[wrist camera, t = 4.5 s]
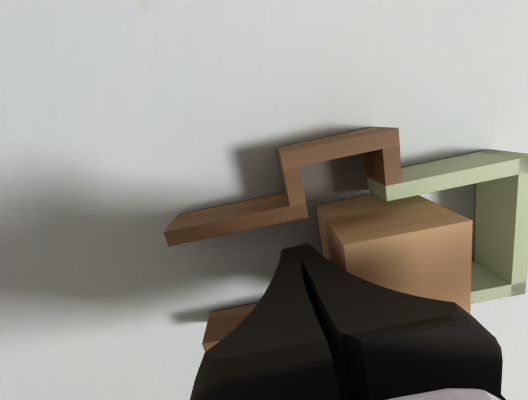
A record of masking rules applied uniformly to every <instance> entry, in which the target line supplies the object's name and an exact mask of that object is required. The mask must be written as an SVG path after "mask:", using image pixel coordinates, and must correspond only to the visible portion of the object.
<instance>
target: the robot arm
mask: <svg viewBox="0 0 528 400" xmlns="http://www.w3.org/2000/svg"><path fill="white" fill-rule="evenodd" d="M502 362H503V360H502V352H501V347H500V345H499V344H498V342H497V340H496V338H495V337H494V336H493V335H492V334H491V333H490V332H489V331H488V330H486V329H485V328H484V327H483V326H482V325H481V324H480V323H479V322H478V321H477V320H476V319H475V318H474V317H473V316H472V315H470V314H469V313H468V312H467V311H465V310H464V309H463V308H462V307H460V306H459V305H458V304H457V303H455V302H449V301H443V300H437V299H430V298H424V297H419V296H415V295H411V294H406V293H402V292H398V291H395V290H391V289H388V288H385V287H382V286H379V285H376V284H374V283H371V282H368V281H366V280H364V279H362V278H359V277H357V276H355V275H353V274H351V273H349V272H347V271H345V270H343V269H342V268H340V267H338V266H337V265H335V264H334V263H332V262H331V261H329V260H328V259H327V258H325V257H324V256H322V255H321V254H320V253H319V252H317V251H316V250H315V249H314V248H313V247H311V246H310V245H309V244H305V245H300V246H295V247H290V248H286V249H283V250H282V251H281V257H280V260H279V264H278V266H277V269H276V272H275V274H274V276H273V278H272V280H271V282H270V284H269V286H268V288H267V290H266V292H265V293H264V295H263V297H262V298H261V300H260V301H259V302H258V304H257V305H256V306H255V308H254V309H253V310H252V311H251V312H250V314H249V315H248V316H247V317H246V318H245V319H244V320H243V321H242V322H241V323H240V324H239V325H238V326H237V327H236V328H235V329H234V330H233V331H232V332H230V333H229V334H228V335H227V336H226V337H224V338H223V339H222V340H220V341H219V342H218V343H217V344H215V345H214V346H213V347H211V348H210V349H209V350H207V351H206V352H205V354H204V356H203V359H202V362H201V365H200V367H199V370H198V373H197V376H196V379H195V382H194V386H193V390H192V394H191V398H190V400H506V399H505V398H504V397H503V396H502V395H501V380H502Z"/></svg>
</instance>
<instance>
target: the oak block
mask: <svg viewBox="0 0 528 400" xmlns="http://www.w3.org/2000/svg"><path fill="white" fill-rule="evenodd" d="M316 210H317V216H318V223H319V229H320V236H321V243H322V249H323V256H324V257H325V258H327V259H328V260H329V261H331V262H332V263H334V264H335V265H337V266H338V267H340V268H342V269H343V270H345V271H347V272H349V273H351V274H353V275H355V276H357V277H359V278H362V279H364V280H366V281H368V282H371V283H374V284H376V285H379V286H382V287H385V288H388V289H391V290H395V291H398V292H402V293H406V294H411V295H415V296H419V297H424V298H430V299H437V300H443V301H449V302H455V303H457V304H458V305H459V306H460V307H462V308H463V309H464V310H465V311H467V312H468V313H469V314H470V299H471V263H472V226H473V220H471V219H469V218H467V217H464V216H462V215H460V214H458V213H456V212H454V211H451V210H449V209H447V208H445V207H443V206H441V205H438V204H436V203H434V202H432V201H430V200H428V199H425V198H423V197H421V196H419V195H416V196H411V197H406V198H401V199H396V200H392V201H385V200H384V199H382V198H381V197H379V196H377V195H376V194H373V195H368V196H363V197H358V198H353V199H348V200H343V201H338V202H333V203H328V204H323V205H318V206H316Z"/></svg>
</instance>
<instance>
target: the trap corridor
mask: <svg viewBox="0 0 528 400" xmlns="http://www.w3.org/2000/svg"><path fill="white" fill-rule="evenodd" d="M276 149H277V155H278V160H279V165H280V170H281V175H282V180H283V185H284V191H285V192H284V193H279V194H275V195H270V196H265V197H260V198H256V199H251V200H246V201H241V202H237V203H232V204H227V205H222V206H217V207H213V208H208V209H203V210H198V211H194V212H189V213H184V214H179V215H178V216H177V217H176V218H175V220H174V221H173V222H172V223H171V224H170V226H169V227H168V228H167V229H166V230H165V232H164V234H165V237H166V240H167V243H168V246H173V245H178V244H182V243H187V242H192V241H197V240H202V239H207V238H212V237H216V236H221V235H226V234H231V233H236V232H241V231H246V230H251V229H255V228H260V227H265V226H270V225H275V224H280V223H285V222H289V221H294V220H299V219H304V218H309V217H308V212H307V206H306V202H311V201H316V200H320V199H325V198H330V197H335V196H340V195H344V194H349V193H354V192H359V191H364V190H369V191H371V192H373V193H374V194H376V195H377V196H379V197H381V198H382V199H384V200H385V201H392V200H396V199H401V198H406V197H411V196H416V195H421V194H426V193H431V192H435V191H440V190H445V189H450V188H455V187H460V186H465V185H469V184H474V183H476V210H475V261H472V263H471V299H470V304H473V303H478V302H483V301H489V300H494V299H499V298H504V297H510V296H515V295H520V294H525V287H526V275H527V263H528V154H524V153H516V152H508V151H500V150H492V149H490V150H485V151H480V152H475V153H470V154H466V155H461V156H456V157H451V158H447V159H442V160H437V161H432V162H427V163H423V164H418V165H413V166H408V167H404V168H401V160H400V144H399V129H398V128H389V127H371V128H366V129H361V130H357V131H352V132H348V133H343V134H338V135H334V136H329V137H324V138H320V139H315V140H310V141H306V142H301V143H297V144H292V145H287V146H283V147H278V148H276ZM257 304H258V303H255V304H250V305H245V306H240V307H235V308H230V309H225V310H220V311H214V312H210V314H209V318H208V322H207V326H206V331H205V335H204V339H203V343H202V344H203V347H204V350H205V352H206V351H207V350H209V349H210V348H211V347H213V346H214V345H215V344H217V343H218V342H219V341H220V340H222V339H223V338H224V337H226V336H227V335H228V334H229V333H230V332H232V331H233V330H234V329H235V328H236V327H237V326H238V325H239V324H240V323H241V322H242V321H243V320H244V319H245V318H246V317H247V316H248V315H249V314H250V312H251V311H252V310H253V309H254V308H255V306H256V305H257Z"/></svg>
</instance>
